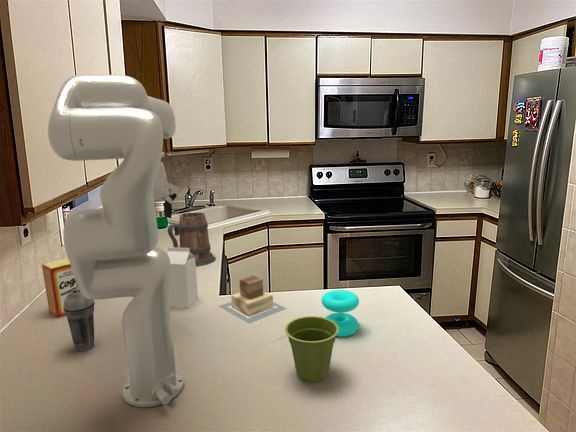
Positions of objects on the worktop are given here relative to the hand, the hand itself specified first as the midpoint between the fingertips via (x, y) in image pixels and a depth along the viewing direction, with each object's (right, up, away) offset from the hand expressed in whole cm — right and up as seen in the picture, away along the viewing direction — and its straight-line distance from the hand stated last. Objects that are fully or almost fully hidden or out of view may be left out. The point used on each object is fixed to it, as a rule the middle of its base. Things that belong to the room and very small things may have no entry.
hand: (151, 220), depth 116 cm
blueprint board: (+27, -28, +13) cm, 40 cm away
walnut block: (+27, -23, +12) cm, 37 cm away
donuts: (+52, -30, -1) cm, 60 cm away
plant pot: (+43, -35, -21) cm, 59 cm away
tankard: (-3, -19, +60) cm, 62 cm away
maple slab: (+27, -27, +12) cm, 40 cm away
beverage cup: (-15, -33, -7) cm, 37 cm away
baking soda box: (-31, -29, +16) cm, 45 cm away
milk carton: (+5, -27, +17) cm, 33 cm away
